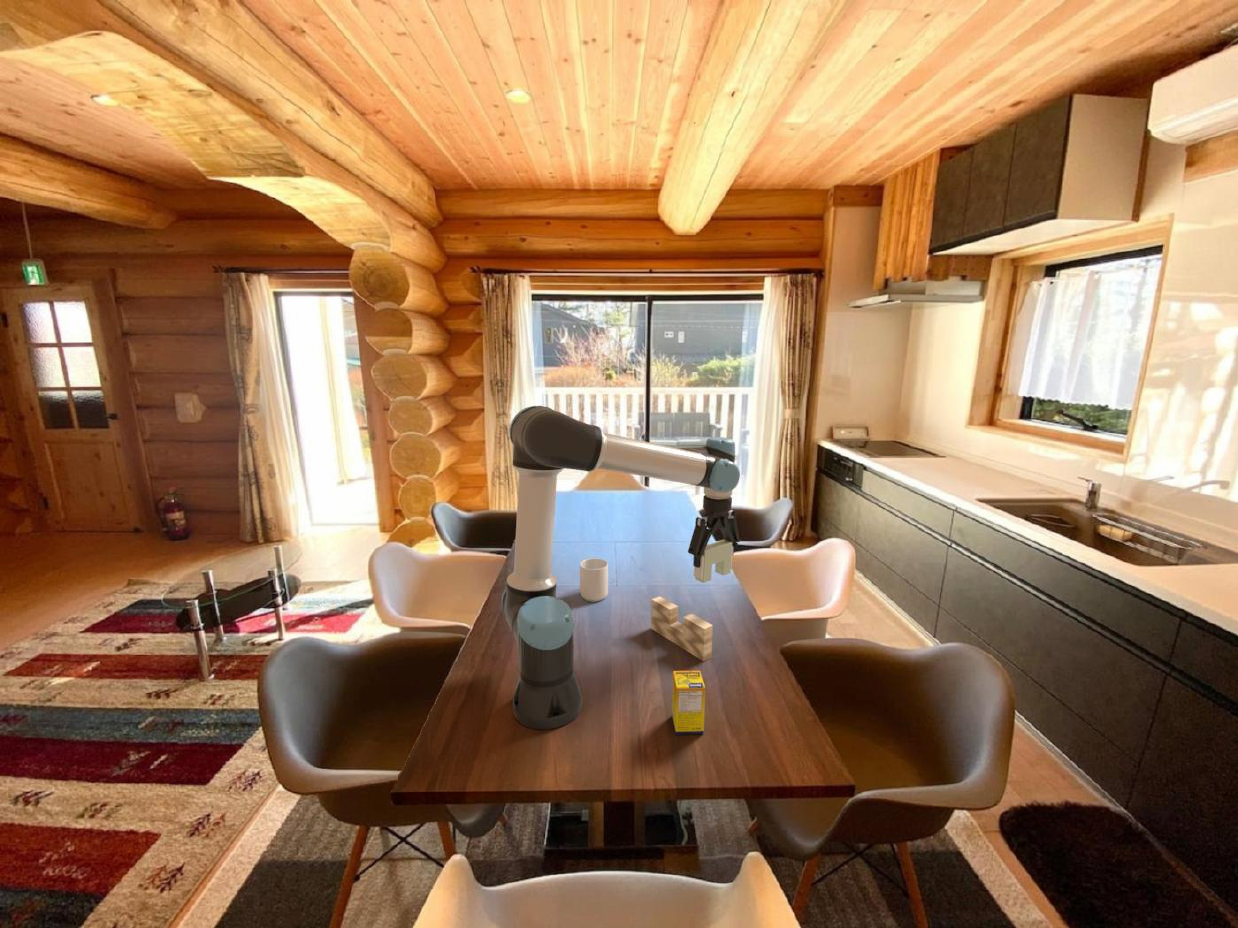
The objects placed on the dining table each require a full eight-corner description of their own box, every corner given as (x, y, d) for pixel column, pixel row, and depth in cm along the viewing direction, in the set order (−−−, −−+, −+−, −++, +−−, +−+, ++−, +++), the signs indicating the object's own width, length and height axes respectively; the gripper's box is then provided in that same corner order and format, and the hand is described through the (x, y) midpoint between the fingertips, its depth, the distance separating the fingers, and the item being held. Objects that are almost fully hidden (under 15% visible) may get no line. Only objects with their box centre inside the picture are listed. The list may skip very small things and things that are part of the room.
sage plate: (703, 582, 138) (705, 551, 136) (695, 579, 141) (696, 547, 139) (730, 572, 145) (732, 542, 143) (722, 569, 147) (724, 539, 145)
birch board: (711, 657, 133) (712, 625, 131) (703, 661, 131) (704, 629, 129) (658, 625, 148) (659, 596, 146) (651, 628, 146) (651, 599, 144)
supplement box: (698, 714, 112) (700, 669, 109) (704, 734, 106) (706, 687, 104) (671, 715, 111) (672, 669, 109) (675, 735, 106) (676, 687, 103)
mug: (605, 603, 161) (605, 570, 158) (577, 601, 162) (577, 568, 159) (611, 586, 172) (611, 555, 170) (585, 585, 173) (584, 554, 171)
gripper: (697, 505, 128) (693, 588, 133) (756, 492, 142) (751, 566, 147) (676, 499, 134) (672, 578, 138) (735, 486, 148) (730, 558, 152)
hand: (713, 572), depth 143 cm, fingers closed on sage plate, 11 cm apart
